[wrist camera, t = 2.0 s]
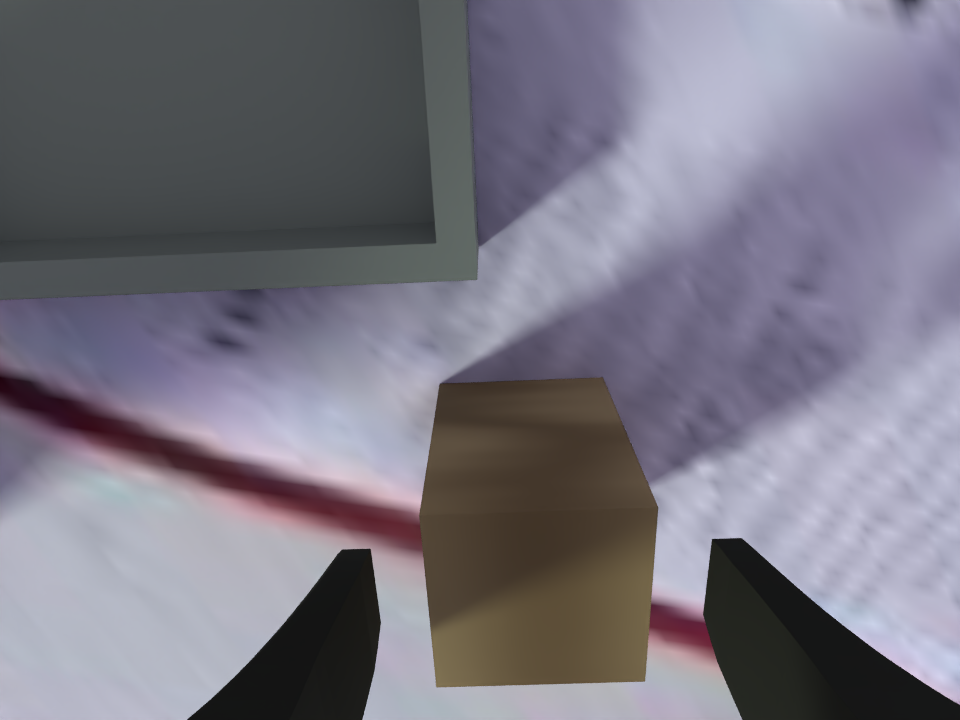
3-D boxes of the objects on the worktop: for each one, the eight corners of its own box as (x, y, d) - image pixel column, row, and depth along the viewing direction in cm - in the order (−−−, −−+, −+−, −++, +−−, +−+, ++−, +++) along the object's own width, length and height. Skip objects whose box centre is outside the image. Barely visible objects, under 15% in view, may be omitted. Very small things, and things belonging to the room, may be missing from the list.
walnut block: (450, 517, 19) (436, 687, 14) (439, 383, 17) (419, 515, 12) (597, 512, 19) (644, 681, 14) (602, 377, 17) (657, 507, 12)
